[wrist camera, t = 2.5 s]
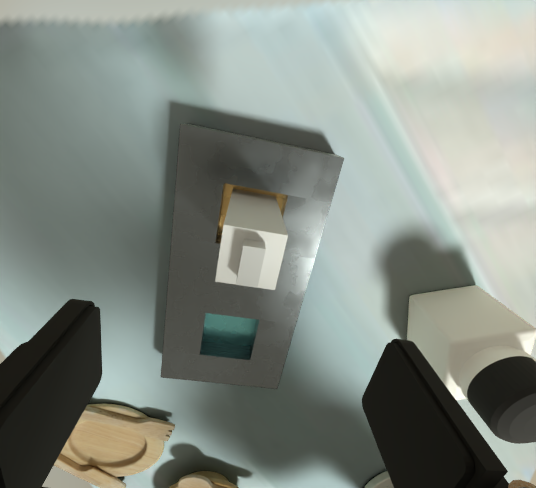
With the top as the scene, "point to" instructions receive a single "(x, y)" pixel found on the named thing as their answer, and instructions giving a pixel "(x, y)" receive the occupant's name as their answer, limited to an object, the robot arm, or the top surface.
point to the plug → (252, 241)
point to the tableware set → (122, 448)
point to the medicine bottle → (480, 356)
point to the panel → (208, 247)
